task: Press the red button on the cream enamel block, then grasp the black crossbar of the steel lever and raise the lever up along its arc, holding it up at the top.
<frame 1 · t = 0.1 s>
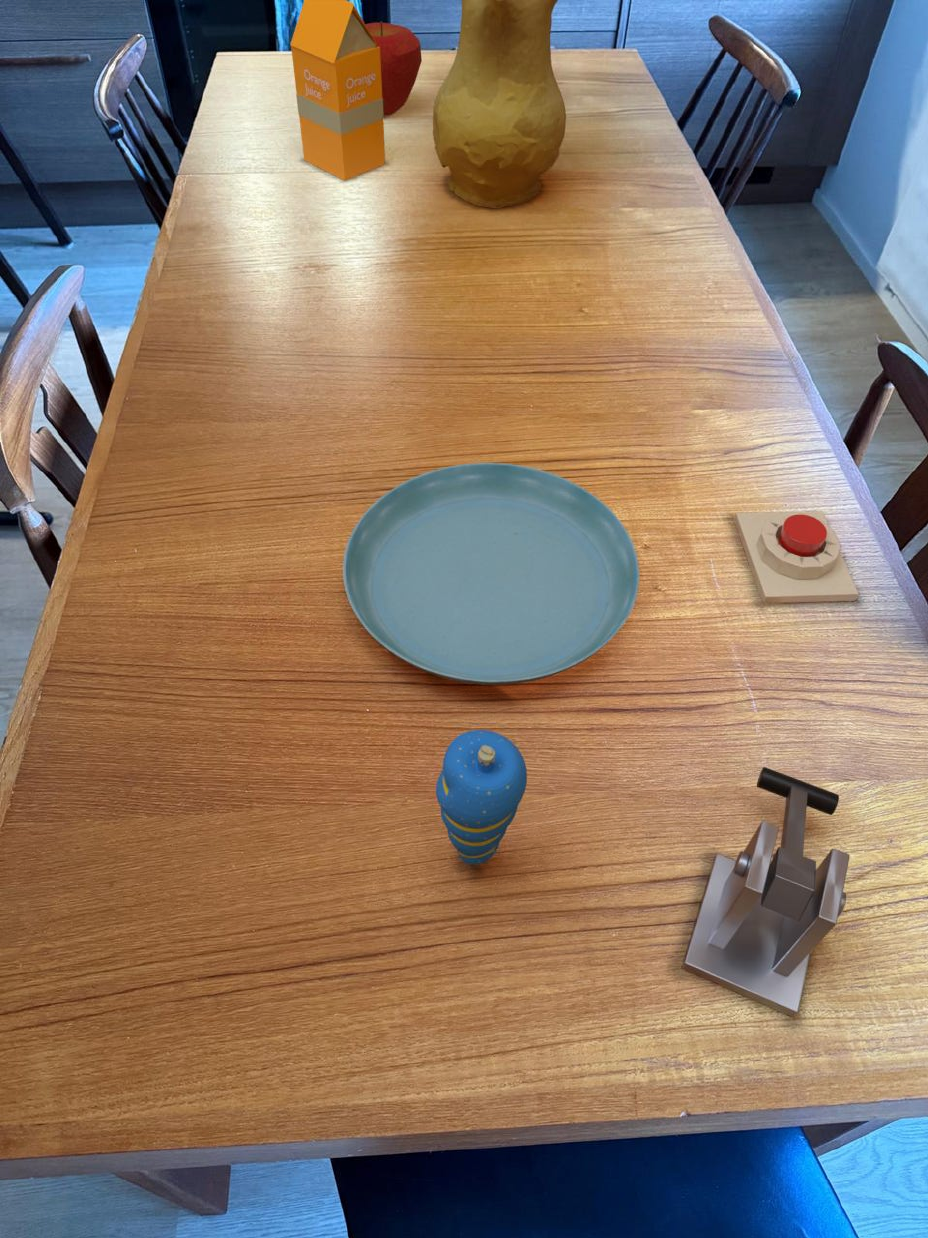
button: (802, 535, 76), point 3 cm above the table, slide at 0.1 cm
teal plate: (489, 587, 76), on the table
lever: (793, 836, 55), point 6 cm above the table, hinge at -25.0°
button block: (792, 558, 78), on the table
apple: (385, 112, 137), on the table
orange juice: (344, 163, 126), on the table
ornament: (475, 862, 60), on the table
bracket: (751, 934, 57), on the table
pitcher: (499, 184, 123), on the table
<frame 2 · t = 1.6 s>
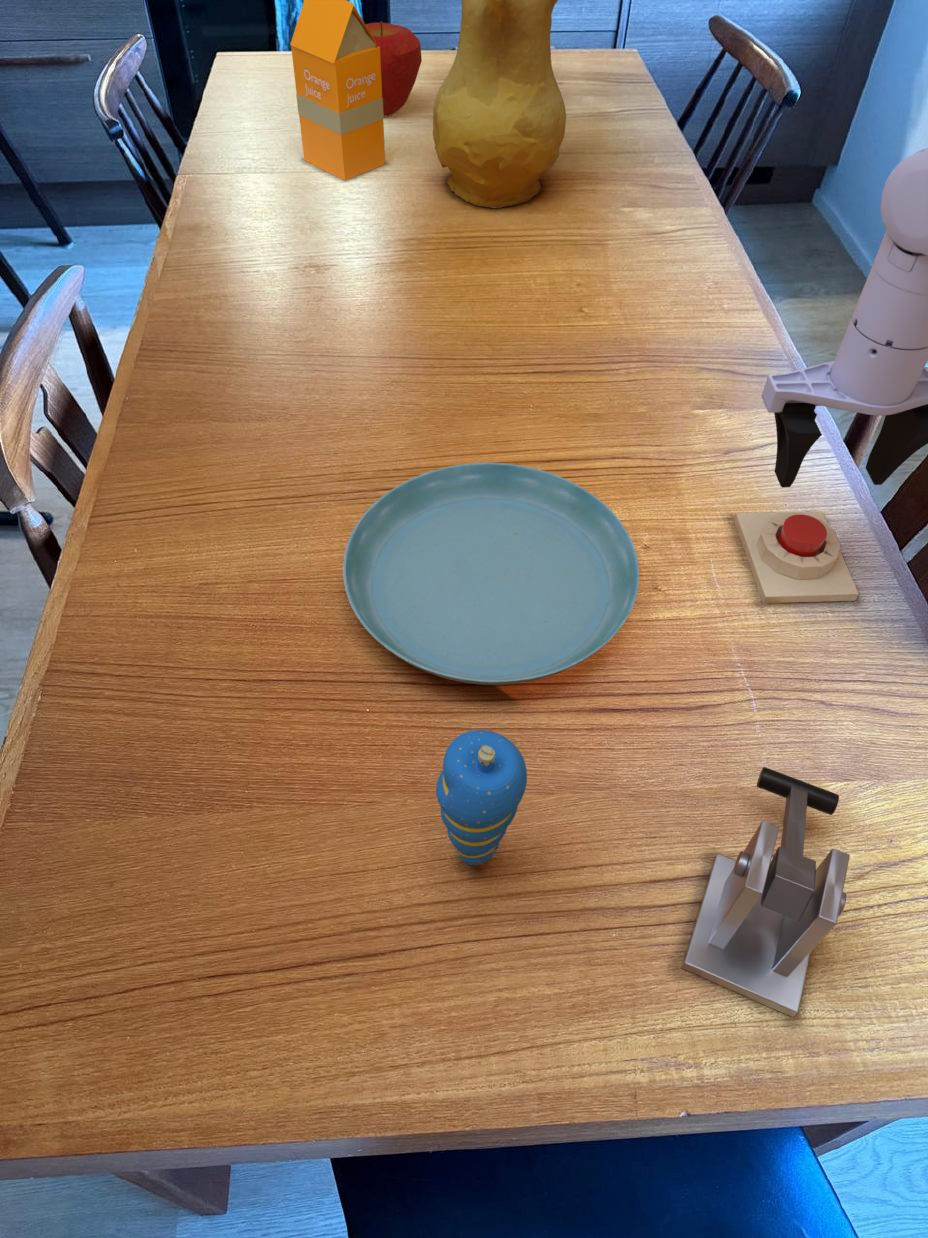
hand: (828, 477, 71), 9 cm above the table, tool pointing down, fingers open, 7 cm apart
nothing on the table moved.
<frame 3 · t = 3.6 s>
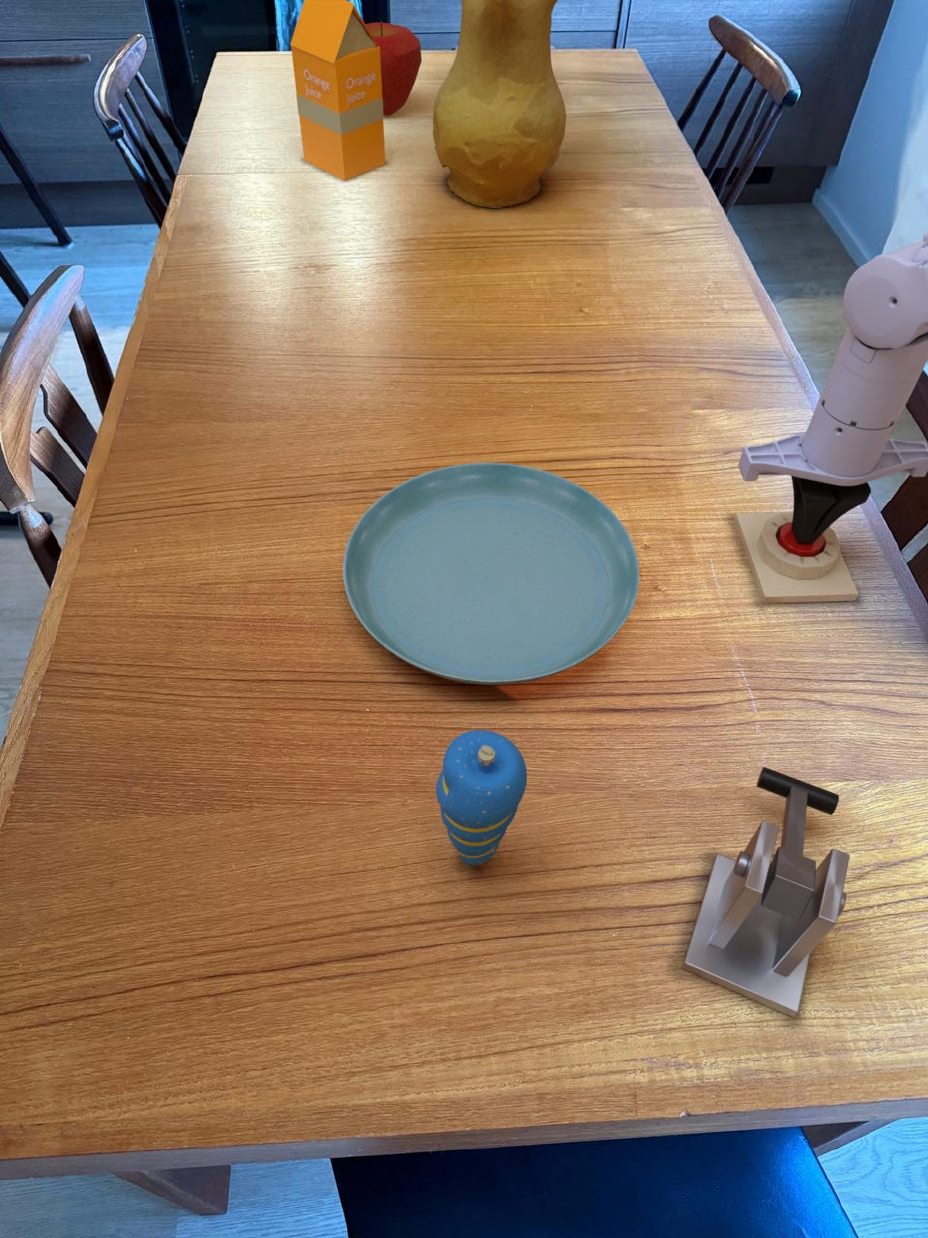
hand: (801, 536, 76), 3 cm above the table, tool pointing down, fingers closed, pressing on button
button: (799, 542, 77), point 2 cm above the table, slide at -0.7 cm, touching gripper
everything else where it was.
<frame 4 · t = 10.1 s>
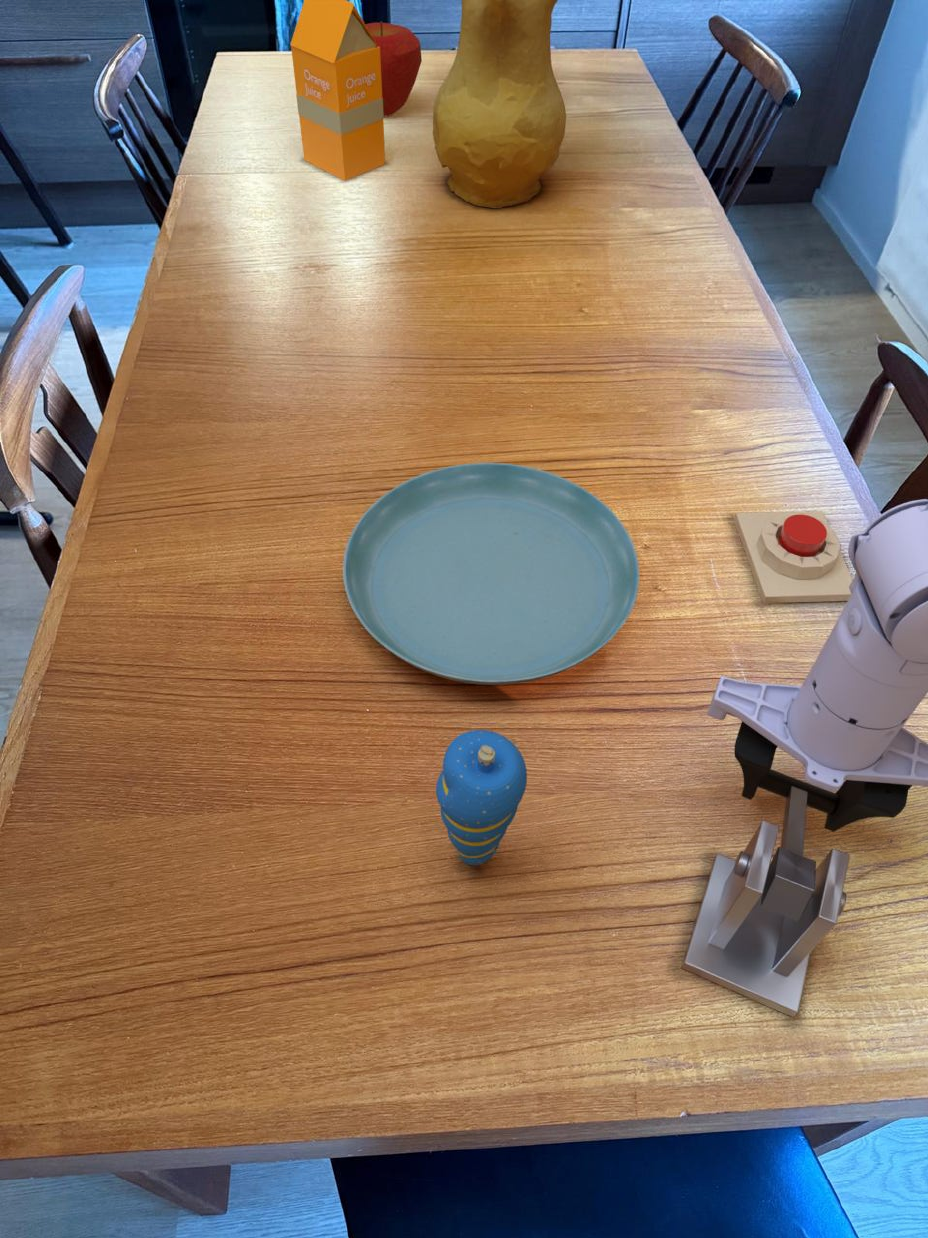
hand: (789, 801, 61), 2 cm above the table, tool pointing down, fingers closed on lever, 5 cm apart
button: (802, 535, 76), point 3 cm above the table, slide at 0.1 cm
lever: (793, 836, 55), point 6 cm above the table, hinge at -25.0°, touching gripper
everything else where it was.
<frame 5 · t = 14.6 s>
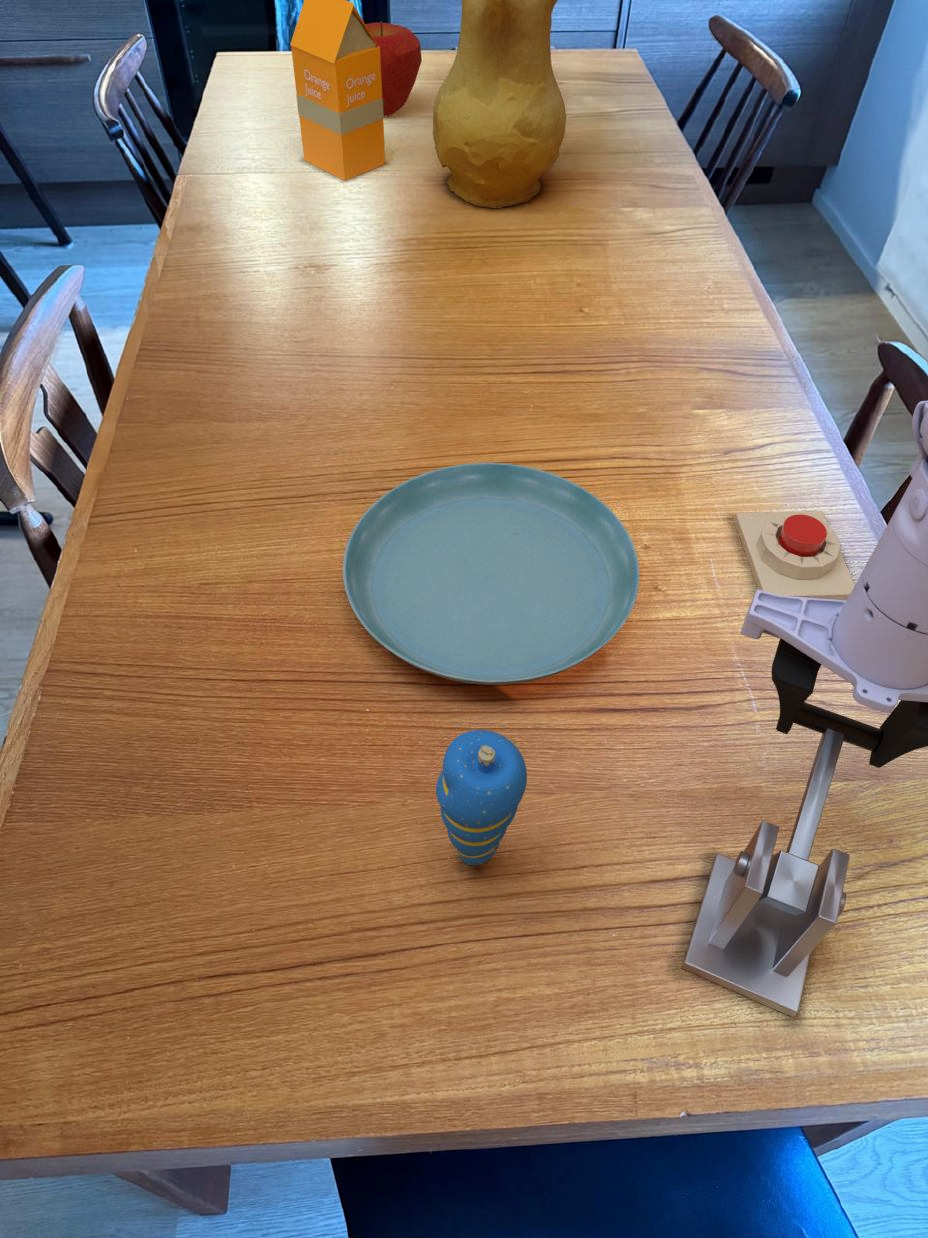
hand: (829, 736, 55), 10 cm above the table, tool pointing down, fingers closed on lever, 5 cm apart
lever: (811, 807, 53), point 9 cm above the table, hinge at 18.4°, touching gripper
everything else where it was.
at the end: button pushed in 1.0 cm at the most during the clip, back to where it started at the end; button slide at 0.1 cm; lever at +18° (first picture: -25°) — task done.
